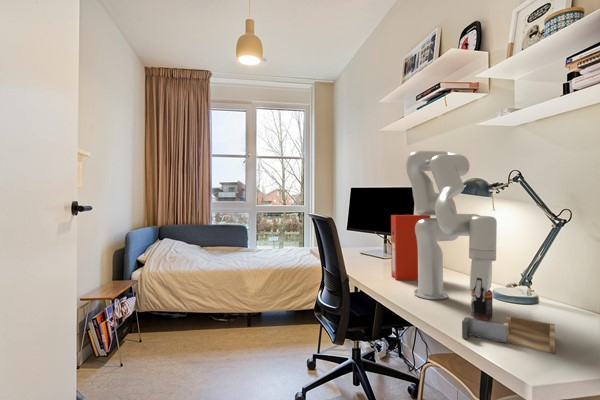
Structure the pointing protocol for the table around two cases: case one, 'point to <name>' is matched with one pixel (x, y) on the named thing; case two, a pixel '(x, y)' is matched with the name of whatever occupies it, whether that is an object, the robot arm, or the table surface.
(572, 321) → the table surface
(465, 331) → the grey l-shaped block
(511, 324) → the caddy
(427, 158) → the robot arm
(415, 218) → the file binder
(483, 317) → the supplement bottle
